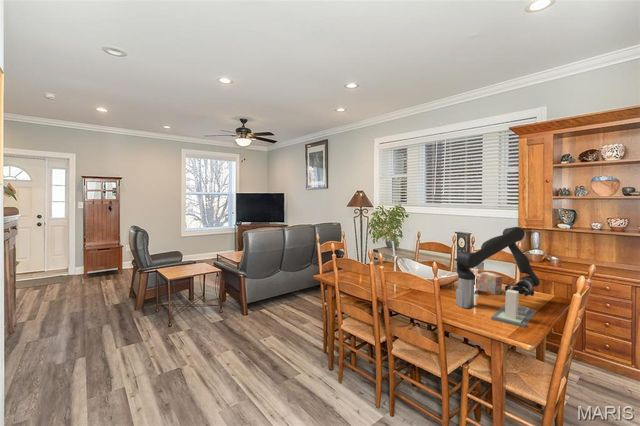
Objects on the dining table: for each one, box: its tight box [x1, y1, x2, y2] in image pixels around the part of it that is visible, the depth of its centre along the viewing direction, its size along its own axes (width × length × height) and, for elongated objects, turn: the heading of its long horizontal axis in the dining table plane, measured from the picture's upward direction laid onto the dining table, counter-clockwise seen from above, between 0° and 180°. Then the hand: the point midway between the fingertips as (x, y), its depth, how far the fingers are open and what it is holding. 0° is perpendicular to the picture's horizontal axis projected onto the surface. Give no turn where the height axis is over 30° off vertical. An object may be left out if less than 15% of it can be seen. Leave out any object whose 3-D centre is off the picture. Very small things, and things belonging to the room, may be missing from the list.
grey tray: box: [490, 304, 537, 329], centre depth 178 cm, size 28×16×3 cm, turn 136°
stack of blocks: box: [476, 271, 503, 295], centre depth 226 cm, size 21×6×12 cm, turn 23°
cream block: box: [504, 289, 520, 319], centre depth 172 cm, size 5×5×14 cm
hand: (516, 292), depth 180 cm, fingers open, 8 cm apart
